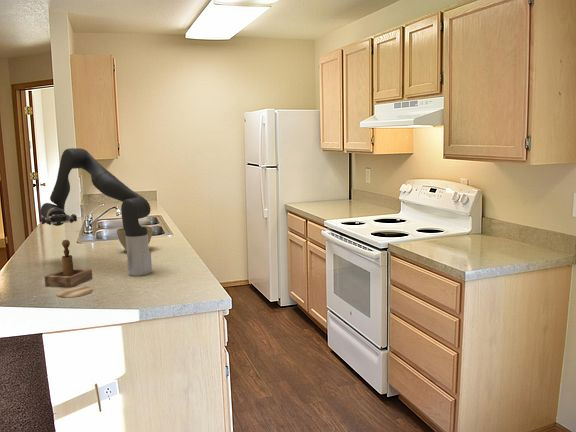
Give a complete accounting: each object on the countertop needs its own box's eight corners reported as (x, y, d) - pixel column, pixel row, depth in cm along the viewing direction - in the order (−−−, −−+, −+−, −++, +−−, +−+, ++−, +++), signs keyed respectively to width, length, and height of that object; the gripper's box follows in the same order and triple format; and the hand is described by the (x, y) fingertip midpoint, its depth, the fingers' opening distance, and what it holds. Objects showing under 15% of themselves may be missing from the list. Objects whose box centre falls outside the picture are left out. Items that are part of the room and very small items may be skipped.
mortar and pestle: (59, 285, 211) (55, 242, 208) (62, 281, 217) (58, 239, 215) (77, 283, 213) (73, 240, 210) (78, 279, 219) (75, 237, 216)
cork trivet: (99, 288, 204) (99, 287, 204) (78, 298, 192) (78, 297, 192) (72, 286, 208) (71, 285, 208) (49, 296, 196) (49, 295, 195)
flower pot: (158, 247, 281) (157, 225, 279) (146, 254, 263) (144, 231, 261) (126, 247, 282) (125, 225, 281) (112, 255, 265) (110, 231, 263)
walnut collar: (92, 278, 220) (91, 269, 219) (71, 287, 207) (70, 277, 206) (67, 277, 223) (66, 268, 223) (45, 286, 210) (44, 276, 210)
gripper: (38, 209, 231) (41, 214, 217) (72, 206, 238) (77, 211, 224) (40, 225, 232) (43, 231, 218) (73, 222, 239) (79, 228, 225)
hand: (60, 221), depth 221 cm, fingers open, 8 cm apart
